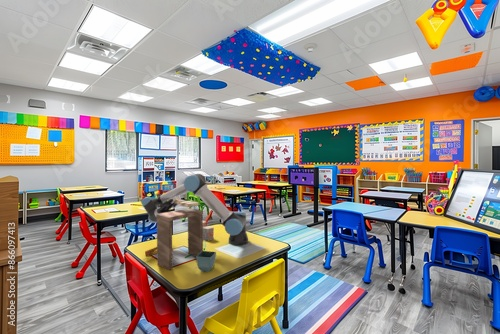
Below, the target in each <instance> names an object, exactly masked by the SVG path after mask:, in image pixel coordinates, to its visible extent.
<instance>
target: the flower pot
mask: <svg viewBox="0 0 500 334" xmlns="http://www.w3.org/2000/svg"><path fill="white" fill-rule="evenodd" d="M216 254H217V251H208V250H203V251H201V252H200V253H199V254H198V255H197V256H195V257H196V264H197V267H198V269H199V270H200V272H207V273H208V272H210V271H211V270H212V269H213V267H214V266H215V263H216V256H217V255H216Z"/></svg>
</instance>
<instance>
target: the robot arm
mask: <svg viewBox="0 0 500 334" xmlns="http://www.w3.org/2000/svg"><path fill="white" fill-rule="evenodd" d="M188 193H192V194H193V195H194V196H196V197H199V198H200V199H201V200H202V202H203V203H204V204H205V205H206V206H207V207H208V208H209V209H210V210H211V211H212V212H213V213H214V214H215V215H216V216H217V218H219V220H221V222H220V223H221V225H222V226H224V230H225V232H226V233H227V234H228V235H229V236H228V244H230V245H234V246H242V245H243V244H244V245H247V244H248V243H249V237H248V236H249V235H248V234H247V213H246V212H245V211H231V210H229V209H228V208H227V207H226V206H225V204H224V203H223V202H222V201H221V200H220V199H219V198H218V197H217V196H216V195H215V194H214V193H213V192H212V191H211V190H210V189H209V188H208V184H207V180H206V177H205V176H204V175H203V174H201V173H195V174H194V173H193V174H189V175H187V176H186V177H185V178H184V180H183V184H180V185H178V186H176V187H175V188H173V189H171V190H168V191H167V192H165V193H163V194H160V195H158V196H157V197H153V198H151V196H146V197H144V198H143V199H141V201H140V204H141V205H142V208H144V210H145V211H146V214H147V215H148V218H147V219H148V221H149V222H150V223H152V224H155V223H156V224H157V218H156V214H160V213H166V212H170V210H171V209H172V208H173V209H175V208H176V207H177V206H178V204H176V203H173V202H175V201H176V200H177V199H179V200H182V198H181V196H184V195H186V194H188ZM171 198H172V199H171ZM169 199H171V200H169ZM246 243H247V244H246Z"/></svg>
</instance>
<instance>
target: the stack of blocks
mask: <svg viewBox="0 0 500 334" xmlns="http://www.w3.org/2000/svg"><path fill="white" fill-rule="evenodd" d="M213 239H214V227H213V226H210V225H208V222H207V221H205V220H203V241H204V240H205V241H206V242H207V241H211V240H213Z"/></svg>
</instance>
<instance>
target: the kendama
mask: <svg viewBox="0 0 500 334" xmlns="http://www.w3.org/2000/svg"><path fill="white" fill-rule="evenodd" d="M155 251H157V246H156V247H153V248H150V249H148V250H145V251H144V254H145V256H150V255H151V254H152V253H154V252H155Z"/></svg>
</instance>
